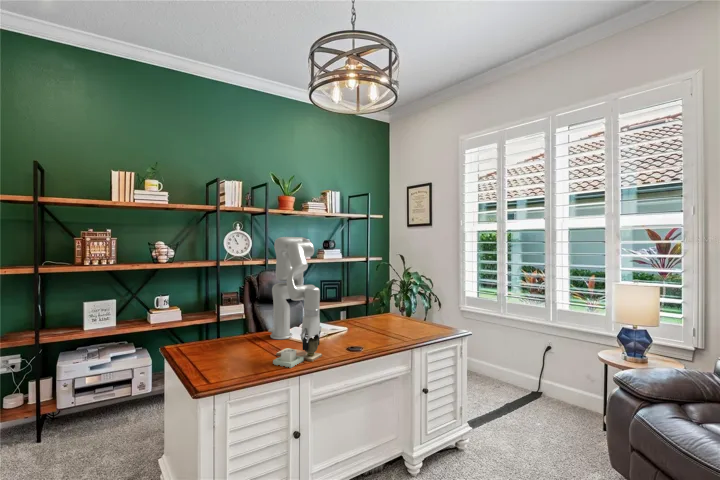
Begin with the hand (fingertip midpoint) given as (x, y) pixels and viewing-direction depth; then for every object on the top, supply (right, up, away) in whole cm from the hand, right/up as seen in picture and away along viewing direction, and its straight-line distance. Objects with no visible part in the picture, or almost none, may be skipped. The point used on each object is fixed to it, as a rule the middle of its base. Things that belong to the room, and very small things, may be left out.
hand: (311, 347), depth 180 cm
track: (-6, -5, +3) cm, 8 cm away
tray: (-10, -5, -8) cm, 13 cm away
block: (-9, -4, -8) cm, 13 cm away
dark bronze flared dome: (0, -4, 0) cm, 4 cm away
